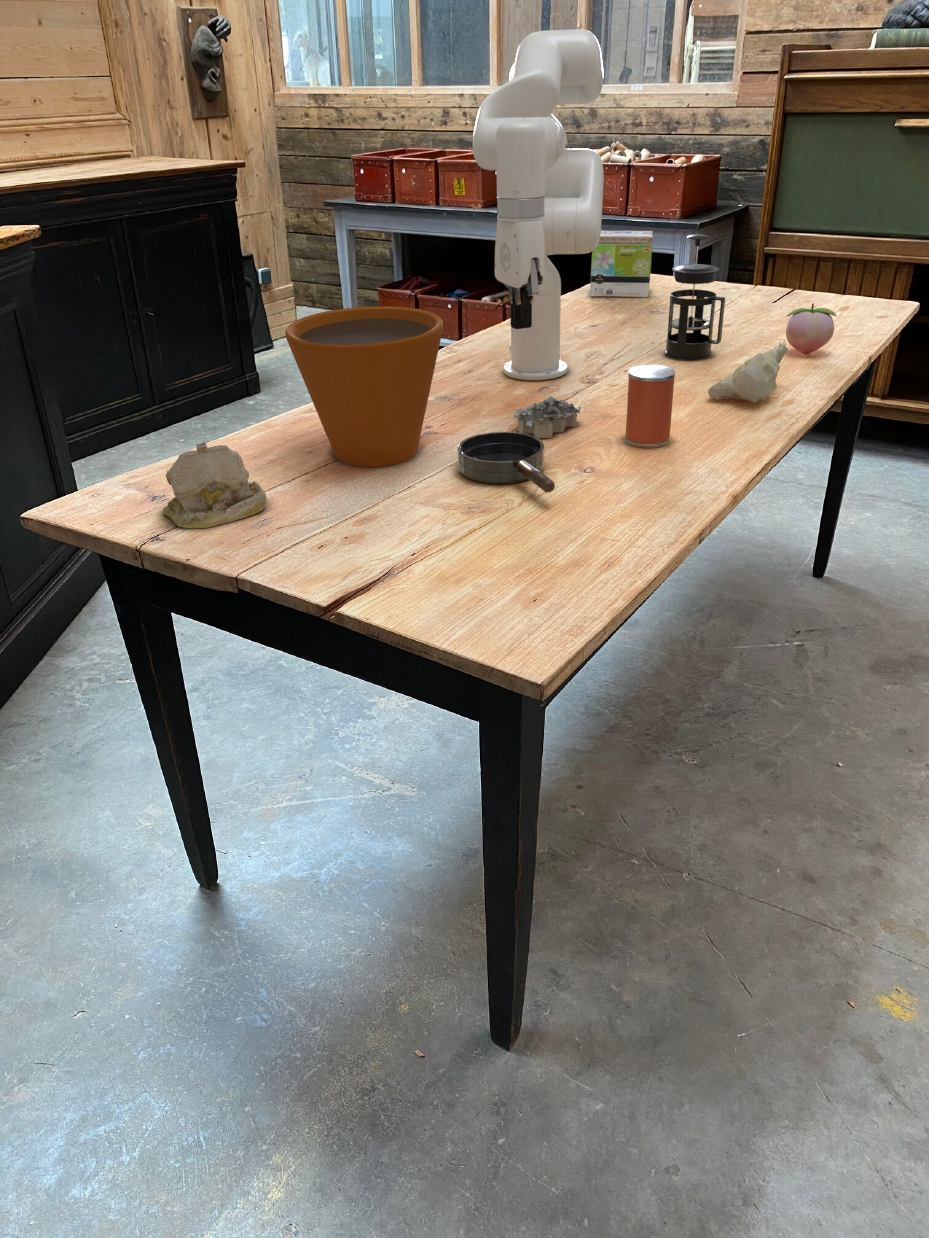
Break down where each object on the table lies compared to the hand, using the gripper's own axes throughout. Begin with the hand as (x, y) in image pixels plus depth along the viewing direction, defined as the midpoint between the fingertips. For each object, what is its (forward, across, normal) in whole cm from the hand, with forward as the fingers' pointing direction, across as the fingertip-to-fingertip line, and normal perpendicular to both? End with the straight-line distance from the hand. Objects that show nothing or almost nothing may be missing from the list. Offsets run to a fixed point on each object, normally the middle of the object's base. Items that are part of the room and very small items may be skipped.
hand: (521, 327), depth 158 cm
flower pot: (+15, +5, -29) cm, 33 cm away
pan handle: (+13, +33, -14) cm, 39 cm away
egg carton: (+15, +9, 0) cm, 18 cm away
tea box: (+13, -73, +64) cm, 98 cm away
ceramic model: (+16, +17, -57) cm, 61 cm away
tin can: (+15, +22, +12) cm, 29 cm away
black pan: (+15, +22, -14) cm, 30 cm away
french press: (+14, -16, +46) cm, 51 cm away
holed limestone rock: (+15, +11, +40) cm, 44 cm away
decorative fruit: (+14, -5, +66) cm, 68 cm away
